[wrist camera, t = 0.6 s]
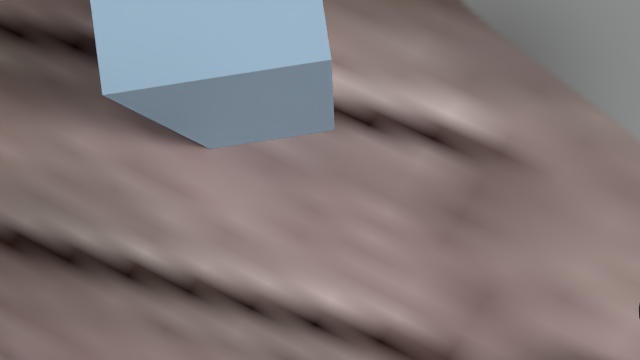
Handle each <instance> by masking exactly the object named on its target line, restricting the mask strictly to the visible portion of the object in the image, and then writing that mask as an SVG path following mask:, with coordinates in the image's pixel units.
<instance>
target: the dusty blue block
mask: <svg viewBox="0 0 640 360" xmlns="http://www.w3.org/2000/svg"><path fill="white" fill-rule="evenodd" d="M90 4H91V11H92V19H93V27H94V34H95V42H96V50H97V57H98V65H99V73H100V81H101V88H102V95H103V96H105V97H107V98H109V99H111V100H113V101H115V102H117V103H119V104H121V105H123V106H125V107H127V108H129V109H131V110H133V111H135V112H137V113H139V114H141V115H143V116H145V117H147V118H149V119H151V120H153V121H155V122H157V123H159V124H161V125H163V126H165V127H167V128H169V129H171V130H173V131H175V132H177V133H179V134H181V135H183V136H185V137H187V138H189V139H191V140H193V141H195V142H197V143H199V144H201V145H203V146H205V147H207V148H209V149H214V148H221V147H227V146H234V145H240V144H247V143H253V142H260V141H267V140H273V139H280V138H286V137H293V136H299V135H306V134H312V133H319V132H325V131H332V130H335V129H334V108H333V86H332V65H331V55H330V48H329V42H328V35H327V29H326V22H325V15H324V9H323V2H322V0H90Z"/></svg>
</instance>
